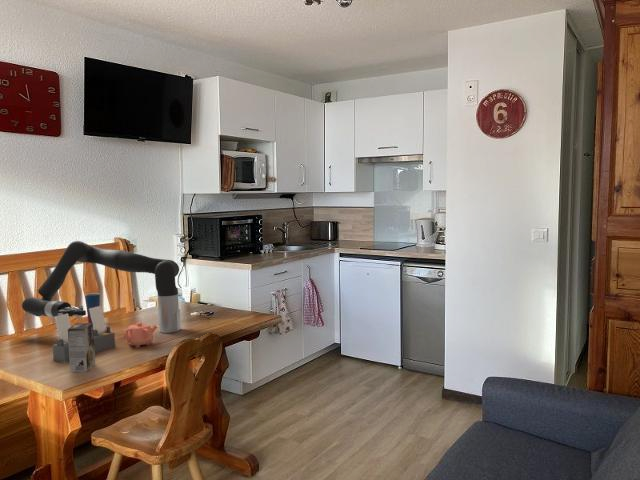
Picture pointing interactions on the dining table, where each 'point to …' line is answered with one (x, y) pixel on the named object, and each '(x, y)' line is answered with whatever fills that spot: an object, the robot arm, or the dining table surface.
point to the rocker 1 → (63, 326)
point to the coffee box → (81, 347)
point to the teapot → (139, 334)
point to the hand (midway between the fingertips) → (84, 313)
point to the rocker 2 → (98, 319)
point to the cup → (92, 303)
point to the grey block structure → (100, 343)
